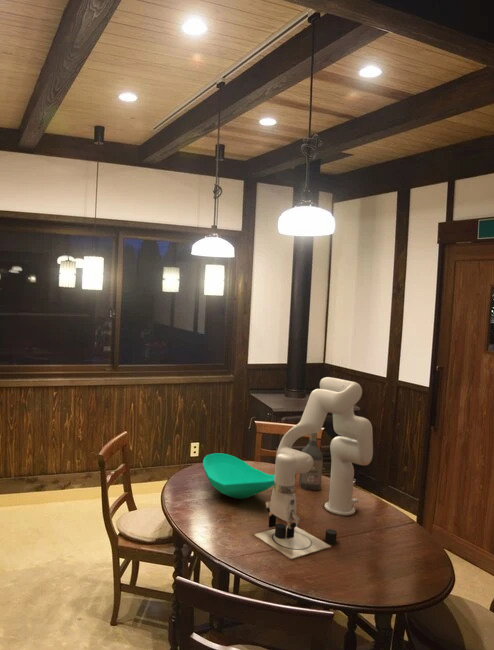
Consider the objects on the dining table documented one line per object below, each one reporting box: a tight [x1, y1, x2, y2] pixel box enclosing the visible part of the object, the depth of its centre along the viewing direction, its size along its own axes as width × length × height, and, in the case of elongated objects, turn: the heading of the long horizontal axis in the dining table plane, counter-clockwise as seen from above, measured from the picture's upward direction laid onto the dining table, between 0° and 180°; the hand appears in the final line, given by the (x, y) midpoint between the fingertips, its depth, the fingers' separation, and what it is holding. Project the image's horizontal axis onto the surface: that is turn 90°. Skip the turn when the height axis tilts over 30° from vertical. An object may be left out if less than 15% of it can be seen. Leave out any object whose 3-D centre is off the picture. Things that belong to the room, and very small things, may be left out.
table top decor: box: [202, 452, 275, 500], centre depth 239 cm, size 40×28×13 cm
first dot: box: [274, 523, 287, 539], centre depth 201 cm, size 4×4×4 cm
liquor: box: [298, 433, 324, 491], centre depth 255 cm, size 9×9×30 cm
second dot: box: [324, 528, 338, 545], centre depth 200 cm, size 4×4×4 cm
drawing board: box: [253, 525, 332, 560], centre depth 199 cm, size 20×20×1 cm
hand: (280, 532), depth 201 cm, fingers open, 9 cm apart
